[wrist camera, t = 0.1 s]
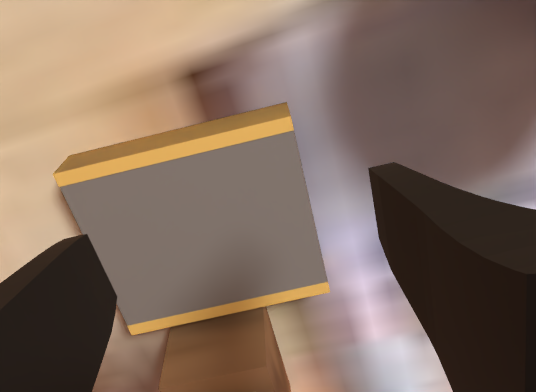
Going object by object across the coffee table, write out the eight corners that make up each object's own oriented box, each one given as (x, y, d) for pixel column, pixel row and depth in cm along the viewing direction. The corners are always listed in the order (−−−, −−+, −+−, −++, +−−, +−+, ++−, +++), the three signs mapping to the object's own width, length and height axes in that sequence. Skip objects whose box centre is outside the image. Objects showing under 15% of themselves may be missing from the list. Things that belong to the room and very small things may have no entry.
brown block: (290, 384, 29) (298, 463, 24) (209, 400, 29) (203, 481, 24) (262, 294, 25) (266, 366, 21) (173, 313, 26) (158, 388, 21)
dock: (323, 267, 25) (329, 292, 23) (139, 308, 25) (131, 335, 23) (286, 102, 21) (290, 116, 19) (69, 155, 21) (53, 174, 19)
